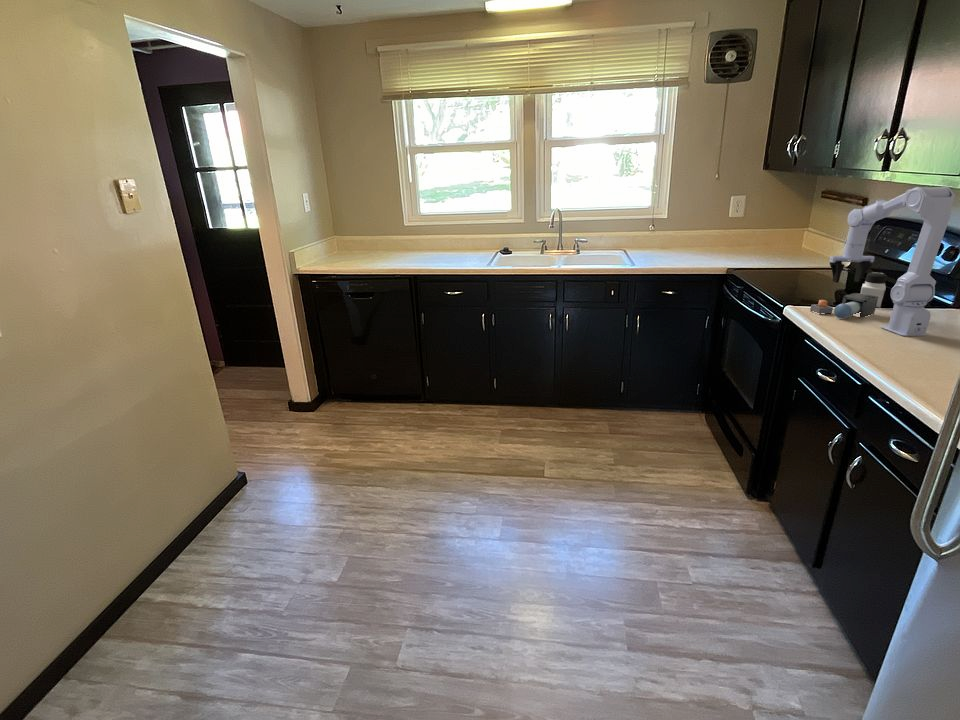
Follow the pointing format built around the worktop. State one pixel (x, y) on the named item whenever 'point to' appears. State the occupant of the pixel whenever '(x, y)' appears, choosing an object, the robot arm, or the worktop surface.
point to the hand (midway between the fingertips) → (846, 281)
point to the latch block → (821, 309)
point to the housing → (867, 300)
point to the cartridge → (848, 309)
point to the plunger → (822, 303)
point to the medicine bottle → (875, 286)
